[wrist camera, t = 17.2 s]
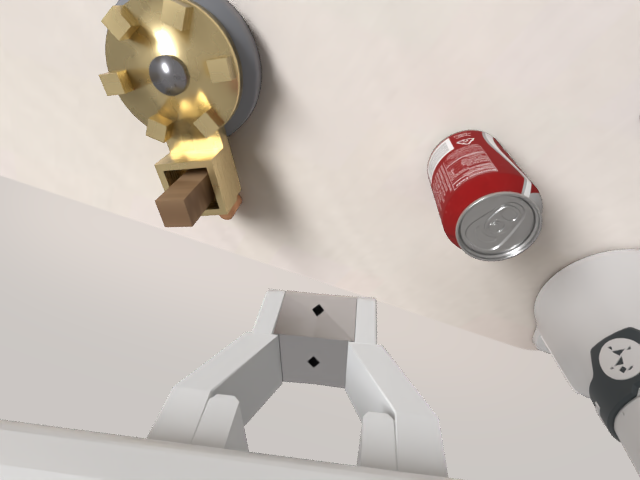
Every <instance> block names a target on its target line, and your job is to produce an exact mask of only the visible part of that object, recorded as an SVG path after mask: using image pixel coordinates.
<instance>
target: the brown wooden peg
mask: <svg viewBox="0 0 640 480" xmlns="http://www.w3.org/2000/svg"><path fill="white" fill-rule="evenodd" d="M215 197H216V196H215V193H214V190H213V187H212V184H211V180H210V177H209V174H208V171H207V168H206V167H205V168H193V169H188V170H187V171H186V172H185V173H184V174H183V175H182V176H181V177H180V178H179V179H178V180H177V181H175V182H174V183H173V184H172V185H171V186H170V187H169V188H168V189H167V190H166V191H165V192H164V193H163V194H162V195H161V196H160V197H159V198H158V199H157V200H155V202H156V205H157V208H158V210H159V213H160V215H161V218H162V220H163V223H164V226H165V227H193V225H194V224H195V223H196V221H197V220H198V219H199V218H200V216H201V215H202V214H203V212H204V211H205V210H206V208H207V207H208V206H209V205H210V203H211V202H212V201H213V199H214V198H215Z"/></svg>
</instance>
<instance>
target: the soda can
mask: <svg viewBox="0 0 640 480" xmlns="http://www.w3.org/2000/svg"><path fill="white" fill-rule="evenodd" d="M427 173H428V178H429V181H430V184H431V188H432V191H433V194H434V198H435V201H436V204H437V208H438V211H439V215H440V218H441V221H442V225H443V228H444V231H445V233H446V235H447V237H448V238H449V239H450V241H451V242H452V243H453V244H455V245H456V246H457V247H459V248H460V249H462V250H463V251H464V252H465V253H466V254H468V255H469V256H471V257H473V258H475V259H479V260H483V261H500V260H505V259H509V258H512V257H514V256H516V255H518V254H520V253H522V252H523V251H525V250H526V249H527V248H529V247H530V246H531V245H532V244H533V243H534V241H535V240H536V239H537V237H538V235H539V233H540V231H541V227H542V208H543V207H542V199H541V195H540V193H539V191H538V190H537V188H536V187H535V186H534V184H533V183H532V182H531V181H530V180H529V178H528V177H527V176H526V175H525V174H524V172H523V171H522V170H521V169H520V168H519V166H518V165H517V164H516V163H515V162H514V161H513V159H512V158H511V157H510V156H509V155H508V153H507V152H506V151H505V150H504V149H503V147H502V146H501V145H500V144H499V143H498V141H497V140H496V139H495V138H494V137H492V136H491V135H489V134H488V133H485V132H482V131H478V130H464V131H460V132H457V133H454V134H452V135H450V136H448V137H446V138H445V139H444V140H442V141H441V142H440V143H439V144H438V145H437V146H436V147H435V149H434V150H433V152H432V153H431V156H430V158H429V161H428V166H427Z"/></svg>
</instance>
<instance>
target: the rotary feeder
mask: <svg viewBox="0 0 640 480" xmlns="http://www.w3.org/2000/svg"><path fill="white" fill-rule="evenodd" d="M101 22H102V23H103V24H104V25H105V26H106V27H107V28H108V32H107V35H106V44H105V54H106V62H107V67H108V71H109V72H107V73H104V74H100V75H99V77H100V79H101V82H102V84H103V86H104V89H105V91H106V93H107V96H111V95H119V96H120V98H121V100H122V101H123V103H124V104H125V105H126V107H127V108H128V109H129V110H130V111H131V113H132V114H133V115H134V116H135V117H136V118H137V119H138V120H140V121H141V122H142V123H143V124H145V125H146V126H147V131H146V136H149V137H151V138H153V139H156V140H158V141H160V142H163V143H165V142H167V145H168V147H169V150H170V153H169V154H168V155H166V156H165V157H164V158H162V159H161V160H160V161H159V162H157V163H156V164H155V168H156V170H157V173H158V175H159V178H160V180H161V183H162V186H163V188H164V191H166V190H167V189H168V188H169V187H170V186H171V185H172V184H173V183H174V182H175V181H177V180H178V179H179V178H180V177H181V176H182V175H183V174H184V173H185V172H186V171H187V170H188V169H193V168H205V167H206V168H207V171H208V174H209V177H210V180H211V184H212V187H213V190H214V193H215V196H216V197H215V198H214V199H213V201H212V202H211V203H210V205H209V206H208V207H207V208H206V210H205V211H204V212H203V214H202V215H201V216H208V215H225V214H228V213H229V211H230V210H231V208H232V207H233V205H234V204H235V202H236V201H237V195H238V194H239V192H240V191H241V186H240V183H239V179H238V175H237V171H236V168H235V164H234V160H233V157H232V153H231V149H230V146H229V142H228V138H227V135H226V131H225V127H224V125H225V124H226V123H227V122H228V121H229V120H230V119H231V118H232V116H233V115H234V114H235V112H236V110H237V108H238V106H239V103H240V100H241V96H242V91H243V72H242V66H241V61H240V58H239V54H238V52H237V49H236V47H235V44H234V42H233V40H232V39H231V37H230V35H229V33H228V32H227V31H226V29H225V28H224V26H223V25H222V24H221V23H220V22H219V20H218V19H217V18H216V17H215V16H214V15H213V14H212V13H211V12H209V11H208V10H207V9H206V8H204V7H203V6H201V5H200V4H198V3H196V2H195V1H193V0H129V1H128V2H127V3H125V4H124V5H116V6H112V8H111V9H110V10H109V12H108V13H107V14H106V16H105V17H104V18H103V19H102V21H101Z"/></svg>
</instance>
